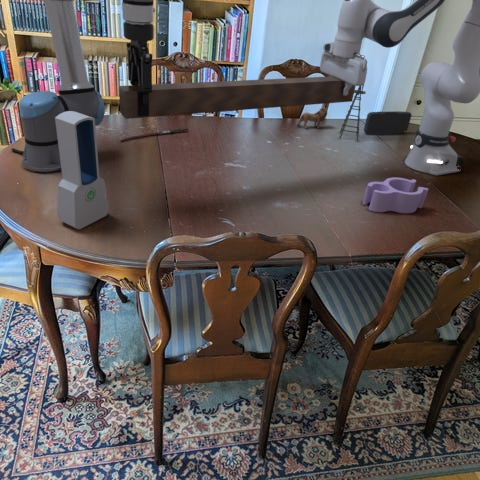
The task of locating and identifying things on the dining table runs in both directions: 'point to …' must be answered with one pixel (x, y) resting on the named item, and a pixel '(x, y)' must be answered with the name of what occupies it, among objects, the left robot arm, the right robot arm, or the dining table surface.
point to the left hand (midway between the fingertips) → (140, 112)
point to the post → (233, 95)
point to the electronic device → (79, 171)
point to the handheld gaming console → (387, 122)
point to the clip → (394, 196)
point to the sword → (154, 134)
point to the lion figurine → (313, 117)
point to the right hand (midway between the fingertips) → (338, 92)
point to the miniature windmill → (354, 109)
